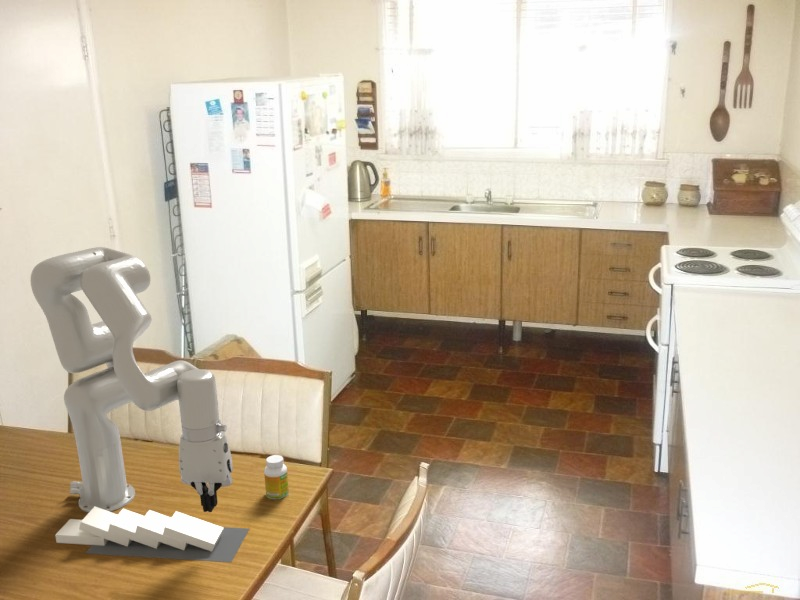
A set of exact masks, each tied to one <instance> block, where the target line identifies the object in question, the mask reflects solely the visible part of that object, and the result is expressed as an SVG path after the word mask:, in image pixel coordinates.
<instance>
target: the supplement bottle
mask: <svg viewBox="0 0 800 600" xmlns="http://www.w3.org/2000/svg"><path fill="white" fill-rule="evenodd" d="M265 461H266V466H265V468H264V469H263V473H264V474H263V475H264V486H265V495H266V497H267V498H269V499H271V500H280V499H283V498H286V497H288V496H289V493H290V490H289V488H290V487H289V478H288V467H287V466H286V464H284V457H283V456H282V455H279V454H274V455H272V454H271V455H270V456H268V457H266V459H265Z"/></svg>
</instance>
